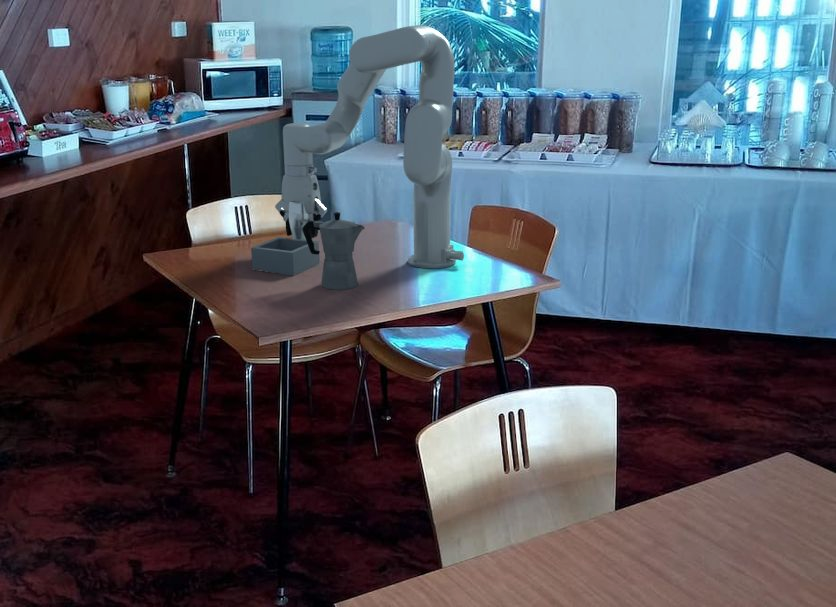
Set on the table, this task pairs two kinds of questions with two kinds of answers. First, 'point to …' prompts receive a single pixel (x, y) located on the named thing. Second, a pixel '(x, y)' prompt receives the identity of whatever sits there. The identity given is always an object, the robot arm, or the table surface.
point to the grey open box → (284, 256)
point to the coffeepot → (336, 251)
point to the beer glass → (297, 219)
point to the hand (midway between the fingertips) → (302, 235)
